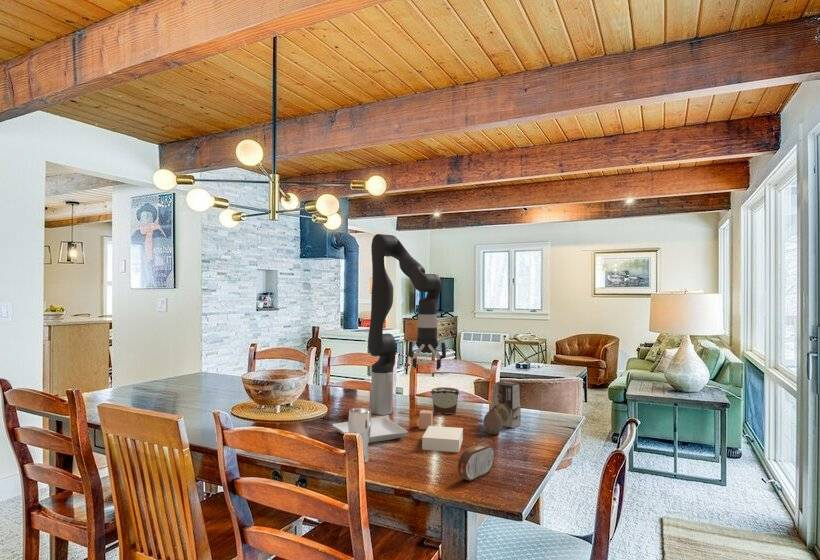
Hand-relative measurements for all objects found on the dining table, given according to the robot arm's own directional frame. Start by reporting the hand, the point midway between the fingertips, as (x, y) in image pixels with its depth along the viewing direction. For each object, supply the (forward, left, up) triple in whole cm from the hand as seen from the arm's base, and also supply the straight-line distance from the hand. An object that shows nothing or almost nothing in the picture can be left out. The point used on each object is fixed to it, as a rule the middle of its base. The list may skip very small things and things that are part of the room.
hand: (426, 368), depth 187 cm
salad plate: (-18, -15, -23) cm, 33 cm away
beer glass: (-14, -40, -22) cm, 48 cm away
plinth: (+9, -19, -22) cm, 31 cm away
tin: (+22, -45, -22) cm, 55 cm away
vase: (+25, -1, -22) cm, 34 cm away
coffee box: (+30, +12, -22) cm, 39 cm away
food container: (+4, +26, -22) cm, 34 cm away
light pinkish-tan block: (0, 0, -22) cm, 22 cm away
